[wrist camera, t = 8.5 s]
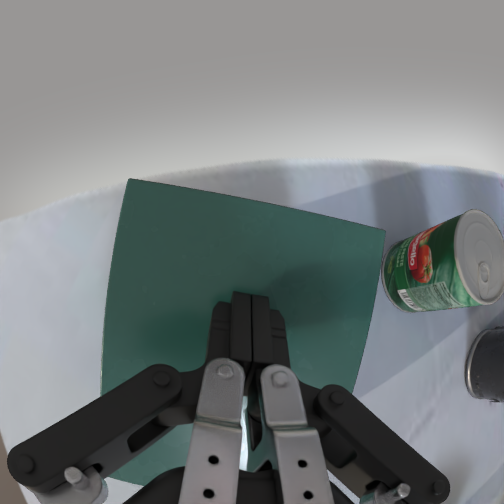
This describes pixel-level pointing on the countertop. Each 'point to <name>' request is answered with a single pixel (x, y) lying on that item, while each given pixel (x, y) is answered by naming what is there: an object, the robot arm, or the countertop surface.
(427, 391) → the countertop surface
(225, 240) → the case lid
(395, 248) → the canned tomato
